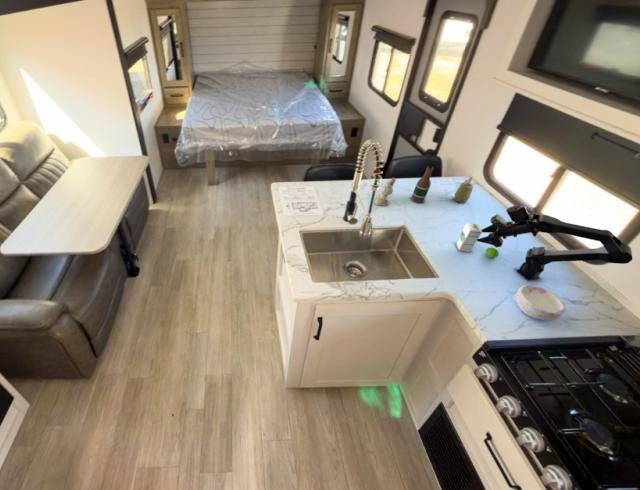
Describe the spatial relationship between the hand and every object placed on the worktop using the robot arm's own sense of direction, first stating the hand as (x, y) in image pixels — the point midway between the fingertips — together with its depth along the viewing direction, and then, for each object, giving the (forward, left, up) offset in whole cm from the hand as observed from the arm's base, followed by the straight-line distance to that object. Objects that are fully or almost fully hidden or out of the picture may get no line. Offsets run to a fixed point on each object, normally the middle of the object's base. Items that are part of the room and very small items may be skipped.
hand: (479, 235), depth 160 cm
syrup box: (+3, +2, -11) cm, 11 cm away
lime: (-5, -7, -11) cm, 14 cm away
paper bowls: (-36, +1, -11) cm, 38 cm away
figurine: (+49, +22, -11) cm, 55 cm away
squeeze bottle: (+41, -28, -11) cm, 51 cm away
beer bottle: (+47, -2, -11) cm, 48 cm away
